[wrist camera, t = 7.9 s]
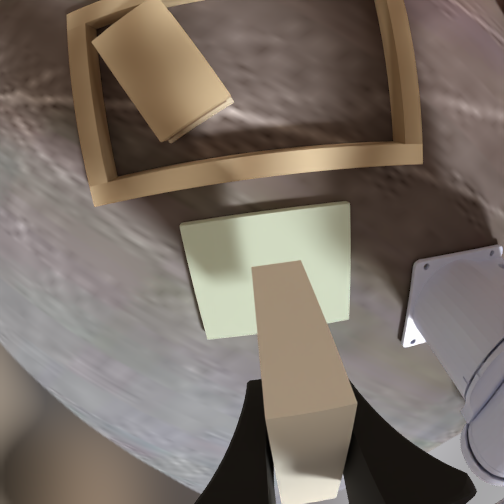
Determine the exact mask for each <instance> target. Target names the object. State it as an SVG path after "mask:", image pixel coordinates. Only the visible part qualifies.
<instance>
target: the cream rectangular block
mask: <svg viewBox="0 0 504 504" xmlns="http://www.w3.org/2000/svg"><path fill="white" fill-rule="evenodd" d="M251 269H252V280H253V291H254V302H255V313H256V324H257V335H258V346H259V357H260V368H261V379H262V389H263V400H264V411H265V420H266V426H267V431H268V436H269V442H270V447H271V452H272V457H273V462H274V467H275V473H276V478H277V483H278V488H279V493H280V498H281V503H282V504H305V503H311V502H317V501H322V500H327V499H332V498H336V496H337V493H338V489H339V485H340V482H341V478H342V474H343V470H344V466H345V462H346V457H347V453H348V449H349V444H350V439H351V434H352V430H353V424H354V419H355V414H356V408H357V401H356V398H355V395H354V392H353V390H352V387H351V384H350V382H349V379H348V376H347V374H346V371H345V368H344V366H343V363H342V361H341V358H340V355H339V353H338V350H337V348H336V345H335V343H334V340H333V337H332V335H331V332H330V330H329V327H328V325H327V322H326V320H325V317H324V315H323V312H322V310H321V307H320V305H319V302H318V300H317V298H316V295H315V293H314V290H313V288H312V285H311V283H310V281H309V278H308V276H307V273H306V271H305V269H304V266H303V264H302V262H301V260H298V261H291V262H283V263H276V264H269V265H262V266H254V267H251Z"/></svg>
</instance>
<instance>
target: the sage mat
mask: <svg viewBox="0 0 504 504" xmlns="http://www.w3.org/2000/svg"><path fill="white" fill-rule="evenodd" d="M179 227H180V231H181V236H182V240H183V244H184V249H185V253H186V257H187V262H188V266H189V270H190V274H191V278H192V282H193V286H194V290H195V294H196V298H197V302H198V306H199V310H200V313H201V317H202V321H203V325H204V328H205V332H206V336H207V339H218V338H227V337H236V336H244V335H252V334H257V324H256V313H255V302H254V291H253V280H252V269H251V267H254V266H262V265H269V264H276V263H283V262H291V261H298V260H301V262H302V264H303V266H304V269H305V271H306V273H307V276H308V278H309V281H310V283H311V285H312V288H313V290H314V293H315V295H316V298H317V300H318V302H319V305H320V307H321V310H322V312H323V315H324V317H325V320H326V322H327V323H332V322H338V321H343V320H348V319H349V303H350V266H351V229H350V203H349V202H347V201H341V202H332V203H323V204H315V205H306V206H298V207H290V208H282V209H274V210H266V211H259V212H252V213H244V214H237V215H230V216H223V217H216V218H210V219H203V220H196V221H190V222H184V223H181V224H180V226H179Z"/></svg>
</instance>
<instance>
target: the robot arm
mask: <svg viewBox="0 0 504 504" xmlns="http://www.w3.org/2000/svg"><path fill="white" fill-rule="evenodd" d="M502 251H503V248H502V246H501V245H499V244H497V245H493V246H488V247H483V248H478V249H473V250H467V251H462V252H457V253H452V254H447V255H441V256H436V257H430V258H425V259H419V260H417V261H416V262H415V263H414V265H413V271H412V279H411V287H410V294H409V301H408V307H407V314H406V319H405V325H404V330H403V336H402V341H401V344H402V345H403V347H409V346H413V345H417V344H420V343H424V342H427V344H428V345H429V346H430V348H431V349H432V351H433V352H434V354H435V355H436V357H437V358H438V360H439V361H440V363H441V364H442V366H443V367H444V369H445V370H446V372H447V373H448V375H449V376H450V378H451V379H452V381H453V382H454V384H455V386H456V387H457V389H458V390H459V392H460V393H461V395H462V397H463V398H464V400H465V401H466V403H465V405H464V407H463V408H462V409H461V411H460V412H461V413H462V415H463V417H464V419H465V420H466V422H467V423H466V424H465V426H464V427H463V429H462V433H461V449H462V453H463V456H464V459H465V461H466V463H467V465H468V466H469V468H470V469H471V471H472V472H473V473H474V474H475V475H476V476H477V477H479V478H480V479H481V480H483V481H485V482H486V483H489V484H492V485H497V486H503V487H504V259H503V258H502V257H501V256H502ZM425 264H427V265H426V267H424V265H425ZM349 382H350V384H351V387H352V390H353V392H354V395H355V398H356V401H357V408H356V414H355V419H354V424H353V430H352V434H351V439H350V444H349V449H348V453H347V457H346V462H345V466H344V470H343V475H344V480H345V485H346V490H347V495H348V500H349V504H466V503H467V502H468V501H469V500H471V499H472V498H473V497H474V496H475V494H476V492H477V491H476V489H475V486H474V484H473V482H472V481H471V479H470V477H469V476H468V474H467V473H465V472H463V471H461V470H458V469H456V468H454V467H452V466H449V465H447V464H445V463H443V462H442V461H440V460H438V459H436V458H434V457H433V456H431V455H429V454H428V453H426V452H425V451H423V450H422V449H420V448H419V447H417V446H416V445H414V444H413V443H411V442H410V441H409V440H407V439H406V438H405V437H404V436H402V435H401V434H400V433H399V432H397V431H396V430H395V429H394V428H393V427H392V426H391V425H389V424H388V423H387V422H386V421H385V420H384V419H383V418H382V417H381V416H380V415H379V414H378V413H377V412H376V411H375V410H374V409H373V408H372V407H371V405H370V404H369V403H368V402H367V401H366V400H365V399H364V398H363V396H362V395H361V394H360V393H359V392H358V390H357V389H356V388H355V387H354V385H353V384H352V383H351V381H350V380H349ZM194 504H276V500H275V491H274V462H273V457H272V452H271V447H270V442H269V436H268V431H267V426H266V420H265V411H264V400H263V389H262V379H259V380H251V381H249V382H248V383H247V389H246V395H245V400H244V404H243V408H242V412H241V415H240V418H239V421H238V424H237V427H236V430H235V432H234V435H233V437H232V440H231V442H230V445H229V447H228V449H227V451H226V453H225V456H224V458H223V460H222V461H221V463H220V465H219V467H218V469H217V471H216V472H215V474H214V476H213V477H212V479H211V481H210V482H209V484H208V485H207V487H206V488H205V490H204V491H203V493H202V494H201V495H200V497H199V498H198V499H197V501H196V502H195V503H194ZM496 504H504V499H502V500H500V501H499V502H497V503H496Z"/></svg>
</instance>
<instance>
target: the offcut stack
mask: <svg viewBox="0 0 504 504" xmlns="http://www.w3.org/2000/svg"><path fill="white" fill-rule="evenodd" d="M92 44H93V45H94V47H95V48H96V50H97V51H98V53H99V54H100V55H101V57H102V58H103V60H104V61H105V63H106V64H107V66H108V67H109V69H110V70H111V72H112V73H113V74H114V76H115V77H116V79H117V80H118V82H119V83H120V85H121V86H122V87H123V89H124V90H125V92H126V93H127V95H128V96H129V98H130V99H131V101H132V102H133V103H134V105H135V106H136V108H137V109H138V111H139V112H140V113H141V115H142V116H143V118H144V119H145V121H146V122H147V124H148V125H149V126H150V128H151V129H152V131H153V132H154V134H155V135H156V136H157V138H158V139H159V141H160V142H163V141H167V140H168V141H169V142H170V144H171V143H173V142H175V141H176V140H178V139H179V138H181V137H182V136H183V135H185V134H186V133H188V132H189V131H191V130H192V129H194V128H195V127H197V126H198V125H200V124H201V123H203V122H204V121H206V120H207V119H209V118H210V117H212V116H213V115H215V114H216V113H218V112H219V111H221V110H223V109H224V108H226V107H227V106H229V105H231V104H232V103H234V101H233V100H232V98H231V95H230V94H229V92H228V91H227V89H226V88H225V86H224V85H223V83H222V82H221V81H220V79H219V78H218V76H217V75H216V73H215V72H214V71H213V69H212V68H211V66H210V65H209V64H208V62H207V61H206V59H205V58H204V57H203V55H202V54H201V53H200V51H199V50H198V48H197V47H196V46H195V44H194V43H193V42H192V40H191V39H190V38H189V36H188V35H187V34H186V32H185V31H184V30H183V28H182V27H181V26H180V24H179V23H178V22H177V21H176V19H175V18H174V17H173V15H172V14H171V13H170V12H169V10H168V9H167V8H166V6H165V5H164V4H163V3H162V1H161V0H146V1H145V2H143V3H142V4H140V5H139V6H137V7H136V8H134V9H133V10H132V11H130V12H129V13H127V14H126V15H125V16H123V17H122V18H121V19H119V20H118V21H117V22H115V23H114V24H113V25H111V26H110V27H109V28H108V29H106V30H105V31H104V32H103V33H101V34H100V35H99V36H98V37H97V38H95V39H94V40H93V41H92Z"/></svg>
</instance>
